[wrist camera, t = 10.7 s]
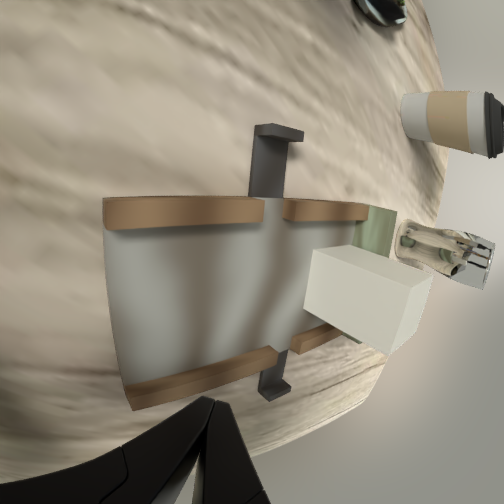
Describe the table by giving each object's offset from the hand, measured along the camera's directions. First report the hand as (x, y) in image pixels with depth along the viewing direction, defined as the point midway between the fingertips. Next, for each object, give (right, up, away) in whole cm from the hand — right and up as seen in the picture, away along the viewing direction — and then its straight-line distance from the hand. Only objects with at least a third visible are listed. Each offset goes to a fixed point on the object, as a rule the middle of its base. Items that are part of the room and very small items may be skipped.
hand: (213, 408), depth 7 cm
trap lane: (+2, +2, +17) cm, 17 cm away
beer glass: (+24, +7, +32) cm, 41 cm away
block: (+9, +2, +21) cm, 23 cm away
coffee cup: (+24, +24, +25) cm, 42 cm away
